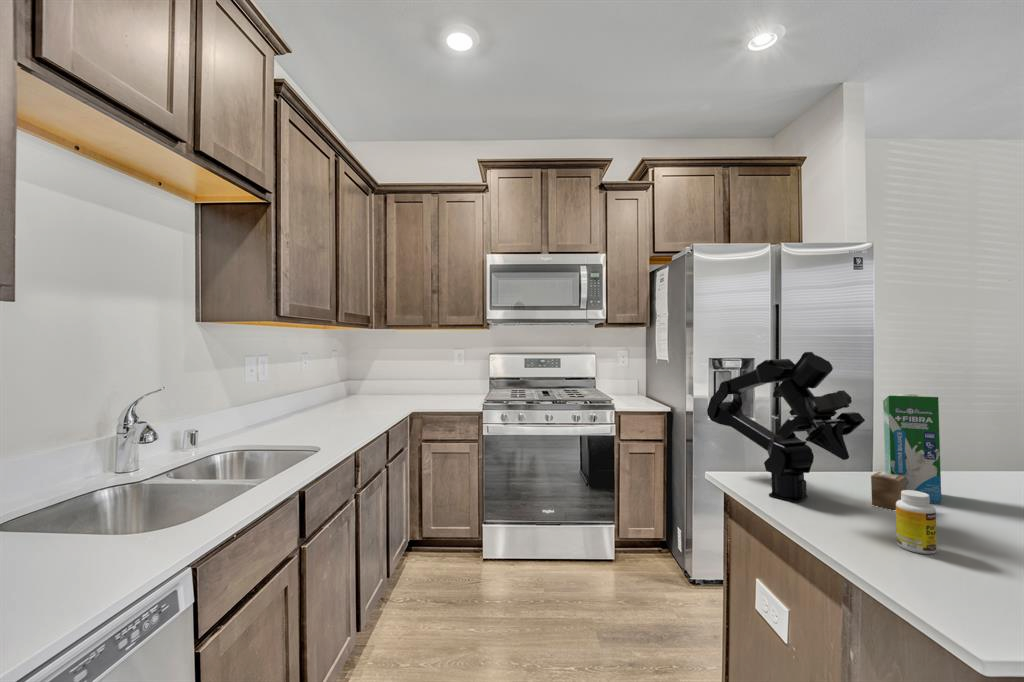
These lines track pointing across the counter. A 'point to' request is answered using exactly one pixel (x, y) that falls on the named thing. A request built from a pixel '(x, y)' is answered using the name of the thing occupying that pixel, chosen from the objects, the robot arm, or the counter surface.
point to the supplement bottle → (916, 522)
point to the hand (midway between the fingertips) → (846, 458)
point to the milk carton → (913, 442)
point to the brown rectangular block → (887, 489)
